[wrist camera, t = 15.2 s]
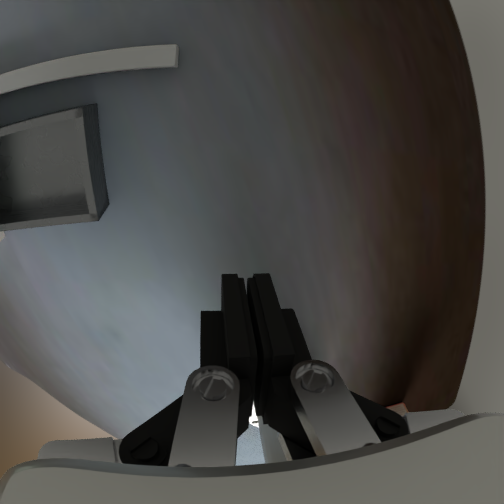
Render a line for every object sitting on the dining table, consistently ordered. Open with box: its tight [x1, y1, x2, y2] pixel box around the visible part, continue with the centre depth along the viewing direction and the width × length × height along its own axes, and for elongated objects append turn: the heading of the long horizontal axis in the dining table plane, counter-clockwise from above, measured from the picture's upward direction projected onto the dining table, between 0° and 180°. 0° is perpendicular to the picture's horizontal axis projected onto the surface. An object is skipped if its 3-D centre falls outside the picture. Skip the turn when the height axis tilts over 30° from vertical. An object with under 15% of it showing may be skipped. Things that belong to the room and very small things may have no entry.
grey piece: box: [0, 44, 179, 242], centre depth 17 cm, size 15×26×6 cm, turn 86°
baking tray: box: [0, 104, 109, 231], centre depth 18 cm, size 8×18×3 cm, turn 89°
